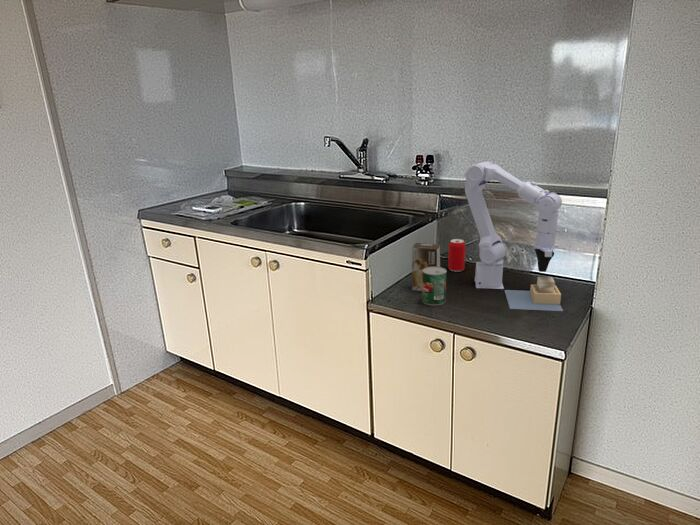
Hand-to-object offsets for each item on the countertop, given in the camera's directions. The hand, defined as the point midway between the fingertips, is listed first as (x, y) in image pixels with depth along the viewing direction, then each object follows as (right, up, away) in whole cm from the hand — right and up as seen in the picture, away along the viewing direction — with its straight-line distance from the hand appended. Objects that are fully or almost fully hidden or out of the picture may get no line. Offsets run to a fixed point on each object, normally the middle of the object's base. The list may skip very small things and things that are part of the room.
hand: (542, 271), depth 162 cm
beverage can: (-22, 0, +31) cm, 38 cm away
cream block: (0, -7, -1) cm, 7 cm away
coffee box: (-36, -7, +13) cm, 39 cm away
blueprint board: (-3, -10, 0) cm, 11 cm away
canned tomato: (-35, -10, +3) cm, 37 cm away
